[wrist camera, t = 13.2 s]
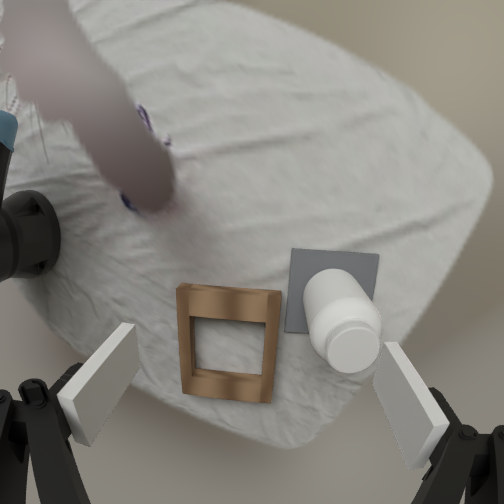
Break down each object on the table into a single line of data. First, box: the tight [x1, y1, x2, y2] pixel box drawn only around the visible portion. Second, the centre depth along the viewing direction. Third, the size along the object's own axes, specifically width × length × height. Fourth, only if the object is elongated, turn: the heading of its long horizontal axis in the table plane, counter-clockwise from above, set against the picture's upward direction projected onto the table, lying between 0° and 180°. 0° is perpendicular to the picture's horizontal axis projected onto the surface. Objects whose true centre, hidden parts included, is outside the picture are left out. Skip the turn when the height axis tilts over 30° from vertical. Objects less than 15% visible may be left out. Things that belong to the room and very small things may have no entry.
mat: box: [285, 248, 379, 333], centre depth 42 cm, size 12×12×1 cm
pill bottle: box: [303, 269, 382, 373], centre depth 34 cm, size 8×8×15 cm
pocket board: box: [176, 283, 281, 403], centre depth 44 cm, size 14×18×2 cm
